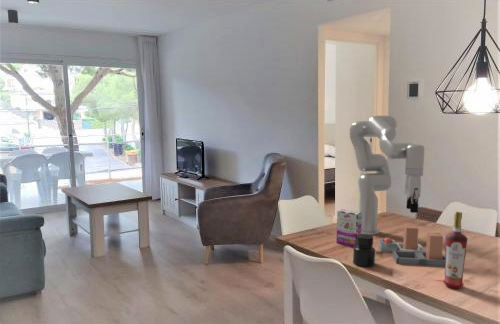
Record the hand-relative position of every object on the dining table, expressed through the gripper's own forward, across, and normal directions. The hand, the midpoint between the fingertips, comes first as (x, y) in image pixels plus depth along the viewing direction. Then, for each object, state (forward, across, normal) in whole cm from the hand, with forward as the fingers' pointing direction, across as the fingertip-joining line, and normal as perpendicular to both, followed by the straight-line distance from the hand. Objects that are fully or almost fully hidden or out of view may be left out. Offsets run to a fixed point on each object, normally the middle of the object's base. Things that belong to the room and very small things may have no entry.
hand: (412, 210), depth 193 cm
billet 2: (+19, +14, +6) cm, 24 cm away
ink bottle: (+20, +19, -23) cm, 36 cm away
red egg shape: (+18, 0, -10) cm, 21 cm away
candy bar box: (+20, -7, -27) cm, 34 cm away
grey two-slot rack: (+20, +14, +1) cm, 24 cm away
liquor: (+20, +38, +7) cm, 43 cm away
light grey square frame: (+20, 0, 0) cm, 20 cm away
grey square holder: (+20, 0, -10) cm, 22 cm away
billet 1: (+20, 0, 0) cm, 20 cm away
